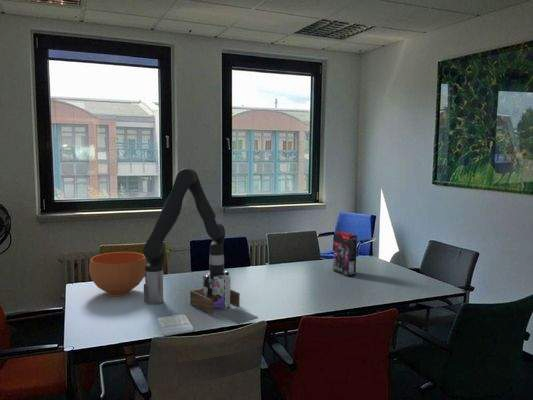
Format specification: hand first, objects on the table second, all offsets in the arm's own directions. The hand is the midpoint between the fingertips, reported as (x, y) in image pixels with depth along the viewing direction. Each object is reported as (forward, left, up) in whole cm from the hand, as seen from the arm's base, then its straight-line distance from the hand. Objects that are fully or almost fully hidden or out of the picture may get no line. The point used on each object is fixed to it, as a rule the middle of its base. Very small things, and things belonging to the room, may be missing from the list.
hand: (216, 293), depth 233 cm
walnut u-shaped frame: (0, +1, -7) cm, 7 cm away
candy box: (0, 0, -7) cm, 7 cm away
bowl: (-31, +51, -7) cm, 60 cm away
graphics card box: (+103, -1, -7) cm, 103 cm away
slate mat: (0, -18, -7) cm, 19 cm away
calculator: (-30, -10, -8) cm, 33 cm away
